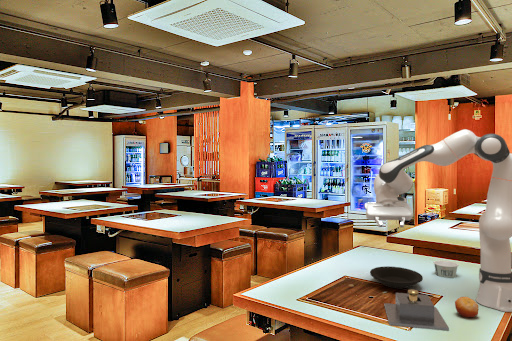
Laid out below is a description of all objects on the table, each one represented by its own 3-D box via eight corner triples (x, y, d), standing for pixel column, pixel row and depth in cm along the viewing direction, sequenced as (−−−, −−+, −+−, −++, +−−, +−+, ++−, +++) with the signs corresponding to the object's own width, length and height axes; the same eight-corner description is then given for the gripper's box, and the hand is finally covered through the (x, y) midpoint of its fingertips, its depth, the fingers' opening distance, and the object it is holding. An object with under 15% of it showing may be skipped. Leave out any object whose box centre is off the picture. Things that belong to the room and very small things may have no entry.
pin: (417, 312, 147) (417, 289, 147) (419, 316, 143) (419, 293, 143) (407, 311, 148) (407, 289, 148) (408, 315, 144) (408, 292, 144)
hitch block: (436, 309, 153) (436, 292, 153) (449, 330, 133) (449, 311, 133) (384, 305, 158) (384, 288, 157) (389, 325, 138) (389, 306, 138)
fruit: (467, 306, 153) (473, 293, 148) (477, 323, 146) (484, 309, 142) (447, 306, 152) (453, 293, 148) (457, 323, 146) (463, 310, 141)
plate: (429, 296, 168) (429, 284, 168) (373, 293, 173) (373, 281, 172) (415, 278, 195) (415, 267, 195) (367, 275, 200) (367, 265, 200)
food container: (452, 272, 206) (452, 260, 206) (462, 279, 194) (462, 266, 194) (429, 272, 207) (430, 260, 207) (438, 278, 195) (438, 265, 195)
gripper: (364, 197, 177) (368, 221, 167) (409, 198, 174) (416, 222, 165) (363, 206, 181) (366, 230, 172) (407, 206, 179) (413, 231, 169)
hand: (391, 226), depth 168 cm, fingers open, 8 cm apart
